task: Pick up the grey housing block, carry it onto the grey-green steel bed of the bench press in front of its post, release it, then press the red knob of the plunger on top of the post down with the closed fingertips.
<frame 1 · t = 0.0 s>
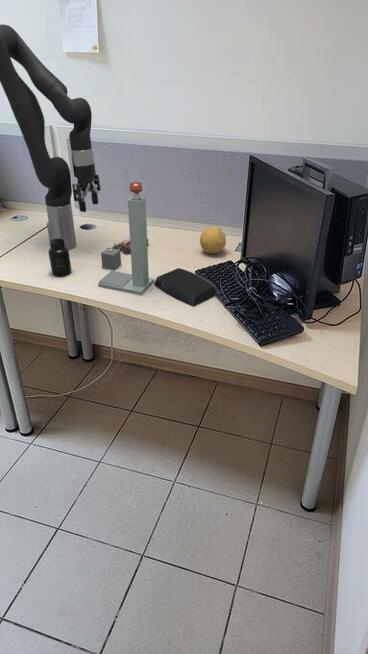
hand: (89, 207, 173), 17 cm above the table, tool pointing down, fingers open, 8 cm apart
external hard drive: (185, 291, 158), on the table
stress ball: (212, 253, 182), on the table
press: (123, 283, 161), on the table
housing: (111, 266, 172), on the table
supplement bottle: (61, 273, 168), on the table
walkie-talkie: (126, 251, 184), on the table
plunger: (136, 196, 142), point 31 cm above the table, slide at 0.0 cm
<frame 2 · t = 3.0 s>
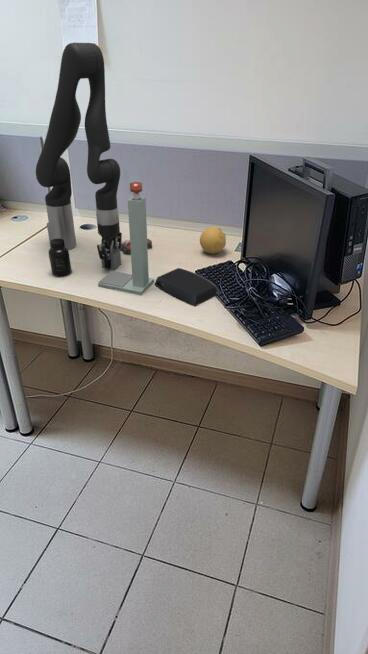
hand: (111, 264, 171), 1 cm above the table, tool pointing down, fingers closed on housing, 5 cm apart
housing: (111, 266, 172), on the table, touching gripper
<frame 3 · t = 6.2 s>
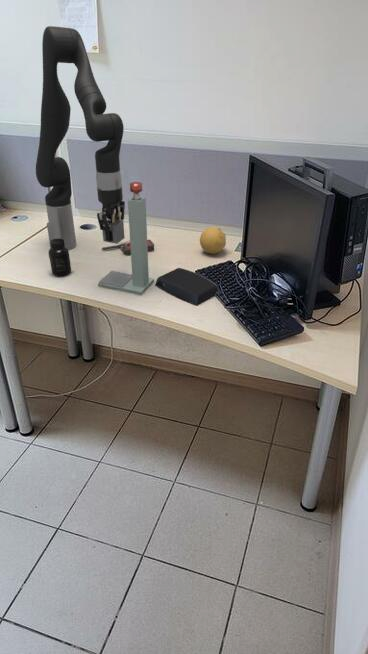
hand: (113, 237, 153), 16 cm above the table, tool pointing down, fingers closed on housing, 5 cm apart
housing: (114, 239, 153), point 16 cm above the table, touching gripper
when the fingers open (3 cm above the table, at t = 8.9 s): housing stays where it is, resting on press.
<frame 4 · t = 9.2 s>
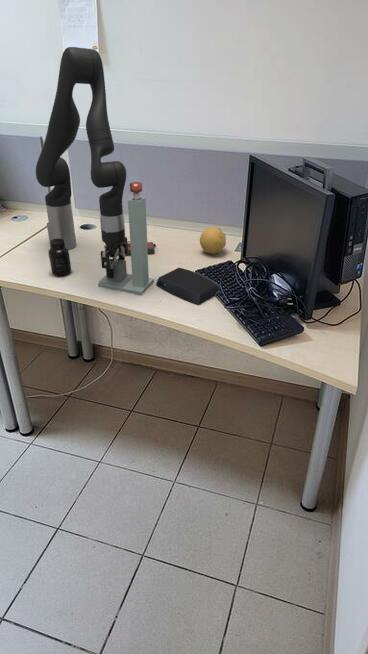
hand: (116, 272, 160), 4 cm above the table, tool pointing down, fingers open, 7 cm apart
housing: (117, 278, 161), point 1 cm above the table, touching press
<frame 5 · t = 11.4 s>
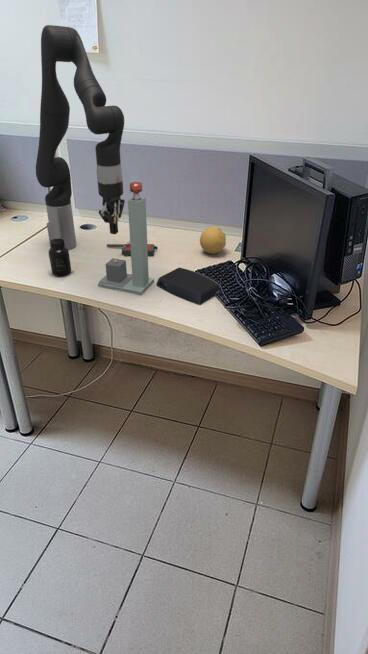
hand: (114, 233, 152), 18 cm above the table, tool pointing down, fingers closed
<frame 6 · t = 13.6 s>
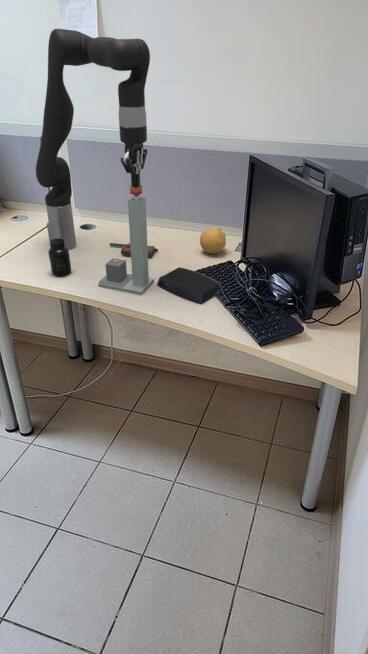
hand: (135, 186, 140), 34 cm above the table, tool pointing down, fingers closed
plunger: (136, 198, 142), point 30 cm above the table, slide at 0.7 cm, touching gripper
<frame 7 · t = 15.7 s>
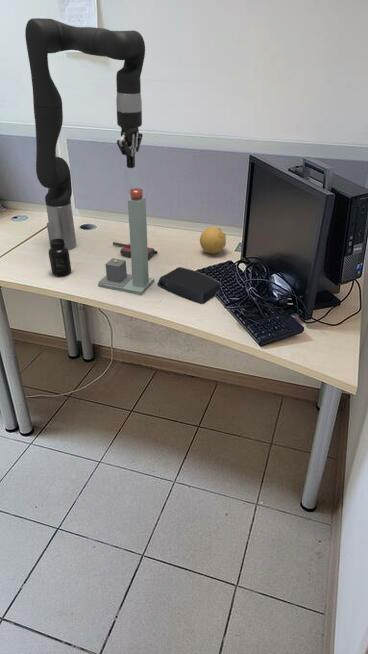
hand: (130, 167, 152), 35 cm above the table, tool pointing down, fingers closed
plunger: (136, 202, 143), point 29 cm above the table, slide at 1.9 cm
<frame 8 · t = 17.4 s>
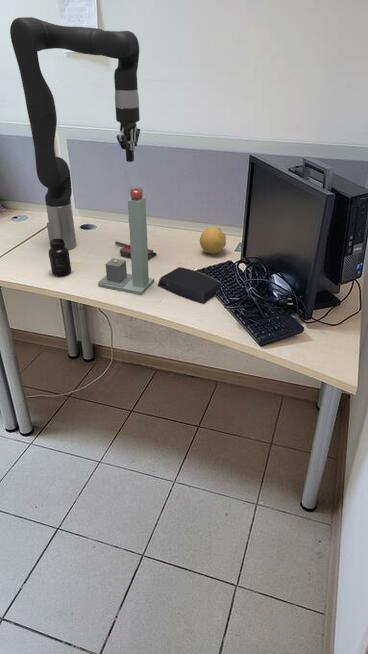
hand: (130, 161, 160), 35 cm above the table, tool pointing down, fingers closed
at the end: housing inside the target area (0.3 cm from its centre), point 1.5 cm above the table; housing tilted 0°; plunger slide at 1.9 cm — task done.
